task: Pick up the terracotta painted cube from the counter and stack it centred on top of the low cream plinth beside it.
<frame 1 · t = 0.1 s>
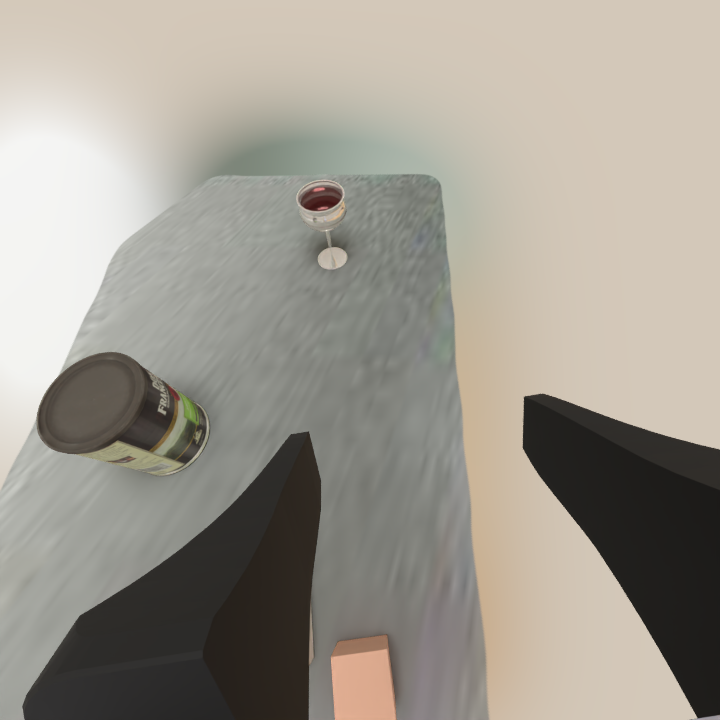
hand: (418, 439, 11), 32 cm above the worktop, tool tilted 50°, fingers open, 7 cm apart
coffee can: (172, 436, 46), on the worktop
terracotta cube: (365, 669, 34), on the worktop
wineglass: (332, 259, 58), on the worktop
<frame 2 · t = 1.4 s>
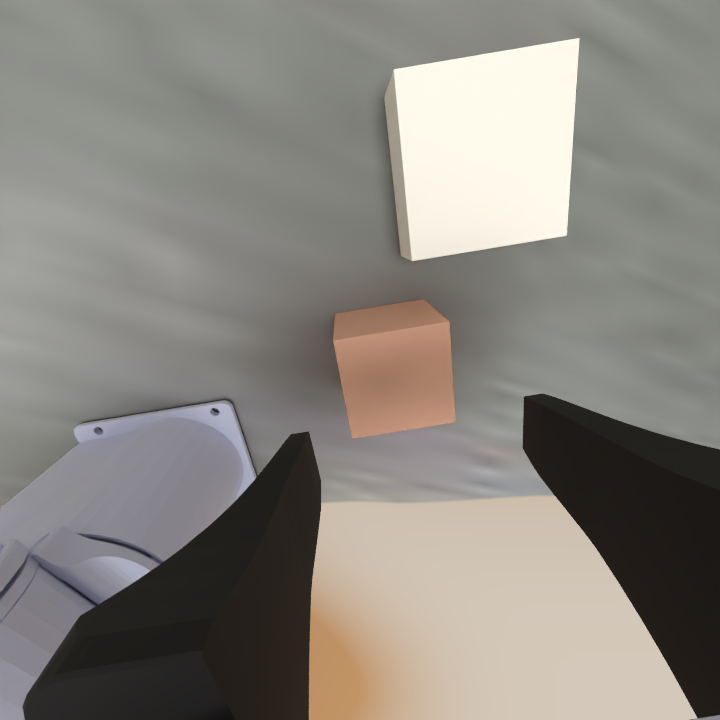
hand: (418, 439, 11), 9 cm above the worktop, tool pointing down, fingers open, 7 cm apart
terracotta cube: (384, 347, 20), on the worktop
cream plinth: (463, 171, 17), on the worktop
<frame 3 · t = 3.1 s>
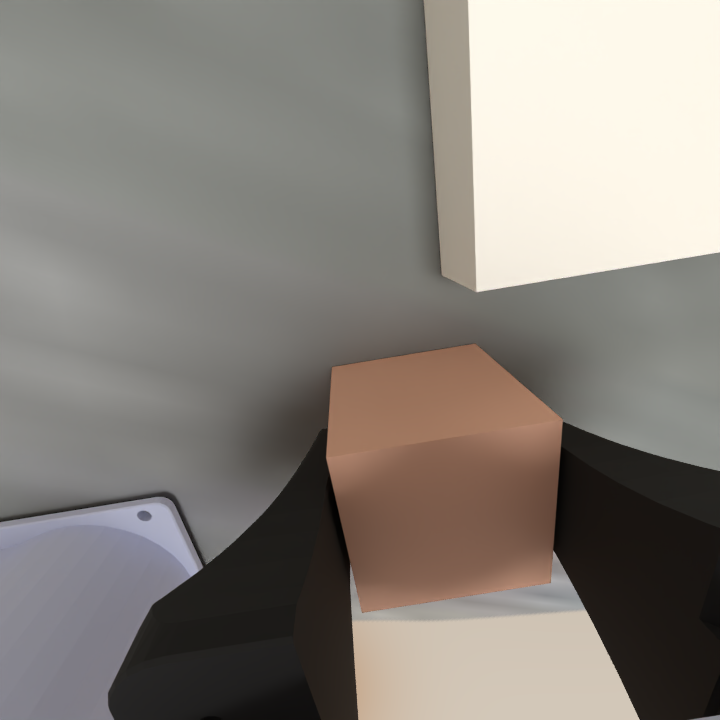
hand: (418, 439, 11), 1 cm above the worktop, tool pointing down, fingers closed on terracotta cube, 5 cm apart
terracotta cube: (410, 417, 13), on the worktop, touching gripper
cream plinth: (557, 128, 10), on the worktop
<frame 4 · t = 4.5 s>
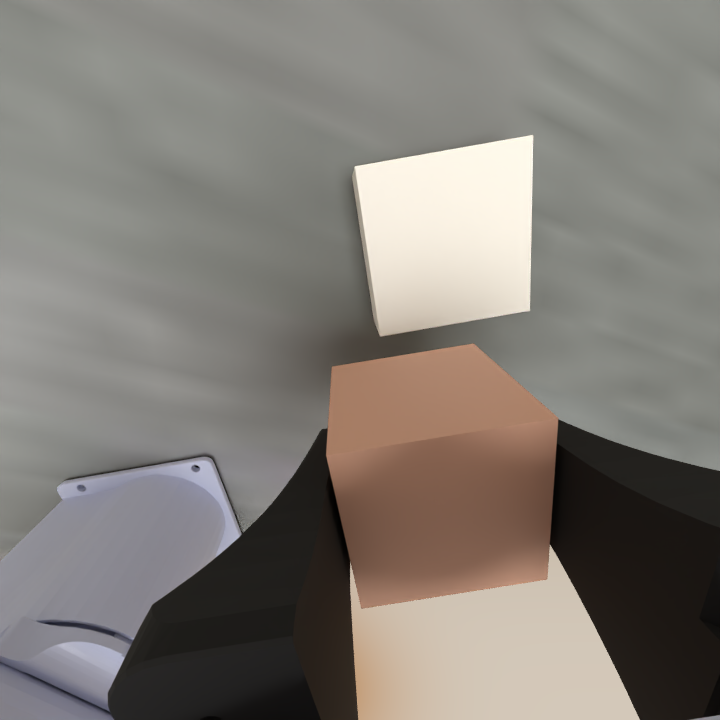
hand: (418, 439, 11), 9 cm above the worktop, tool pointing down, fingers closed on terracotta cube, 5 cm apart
terracotta cube: (409, 416, 13), point 7 cm above the worktop, touching gripper
cream plinth: (431, 242, 17), on the worktop
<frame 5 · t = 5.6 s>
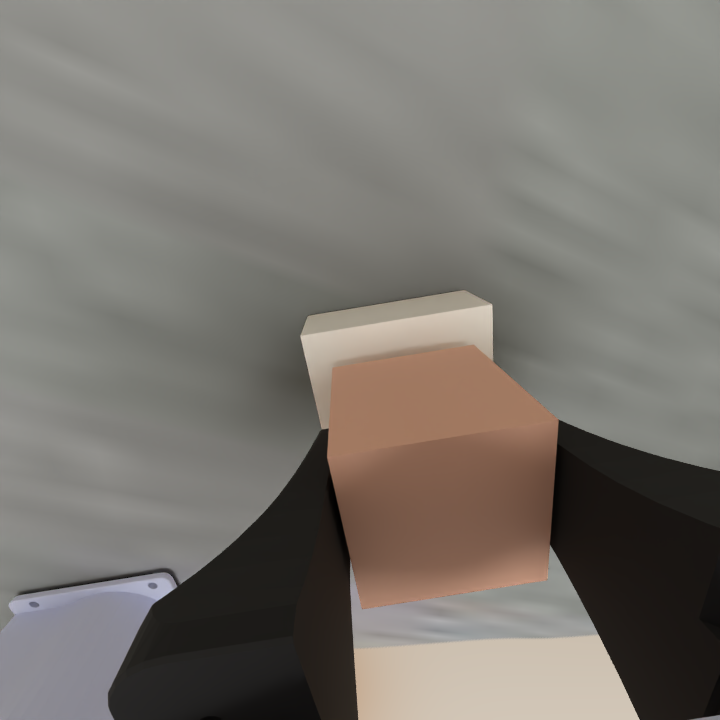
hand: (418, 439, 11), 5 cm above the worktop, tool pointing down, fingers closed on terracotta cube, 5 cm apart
terracotta cube: (410, 417, 13), point 4 cm above the worktop, touching gripper
cream plinth: (395, 374, 16), on the worktop
when the fingers open (5 cm above the worktop, at t = 6.3 s): terracotta cube stays where it is, resting on cream plinth.
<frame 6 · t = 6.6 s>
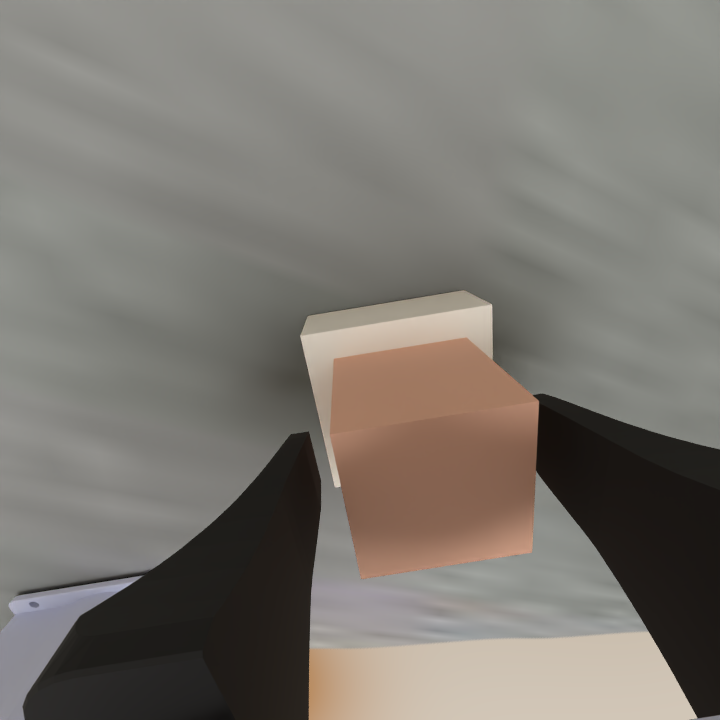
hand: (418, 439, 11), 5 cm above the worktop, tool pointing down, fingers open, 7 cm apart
terracotta cube: (406, 406, 14), point 3 cm above the worktop, touching cream plinth
cream plinth: (394, 374, 16), on the worktop
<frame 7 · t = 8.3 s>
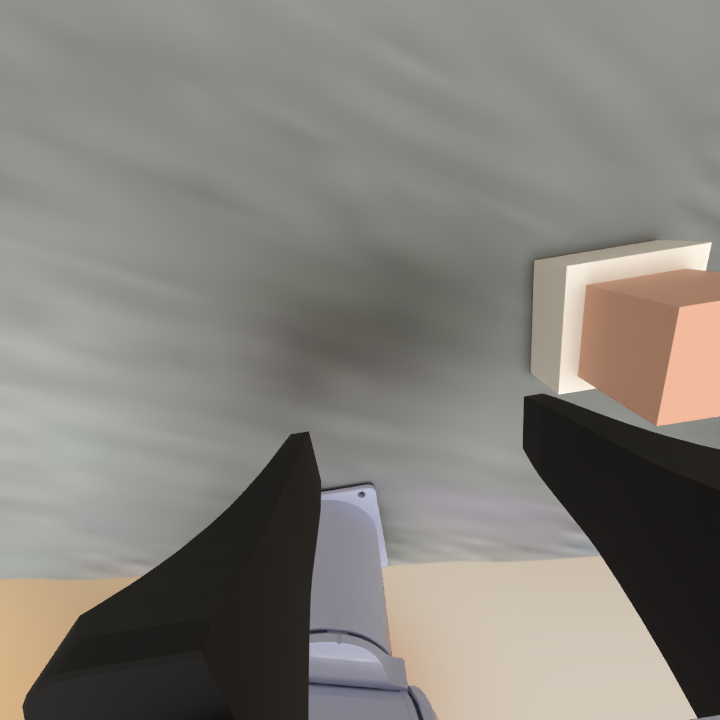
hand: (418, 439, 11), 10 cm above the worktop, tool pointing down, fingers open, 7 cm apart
terracotta cube: (629, 325, 18), point 3 cm above the worktop, touching cream plinth
cream plinth: (590, 310, 21), on the worktop
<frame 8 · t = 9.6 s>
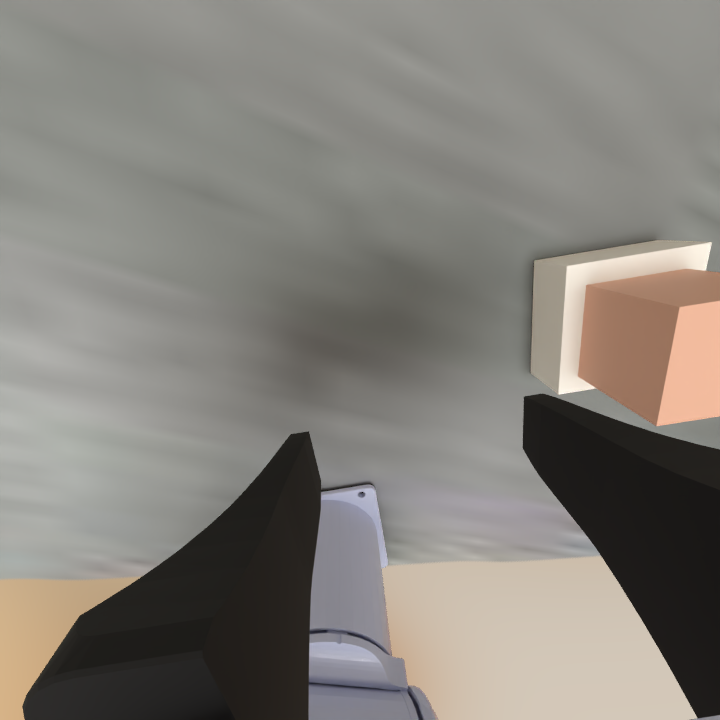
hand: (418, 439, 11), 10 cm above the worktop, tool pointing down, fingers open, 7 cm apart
terracotta cube: (629, 325, 18), point 3 cm above the worktop, touching cream plinth
cream plinth: (590, 310, 21), on the worktop
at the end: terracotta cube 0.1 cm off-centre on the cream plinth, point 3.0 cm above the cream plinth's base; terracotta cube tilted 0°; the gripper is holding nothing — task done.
